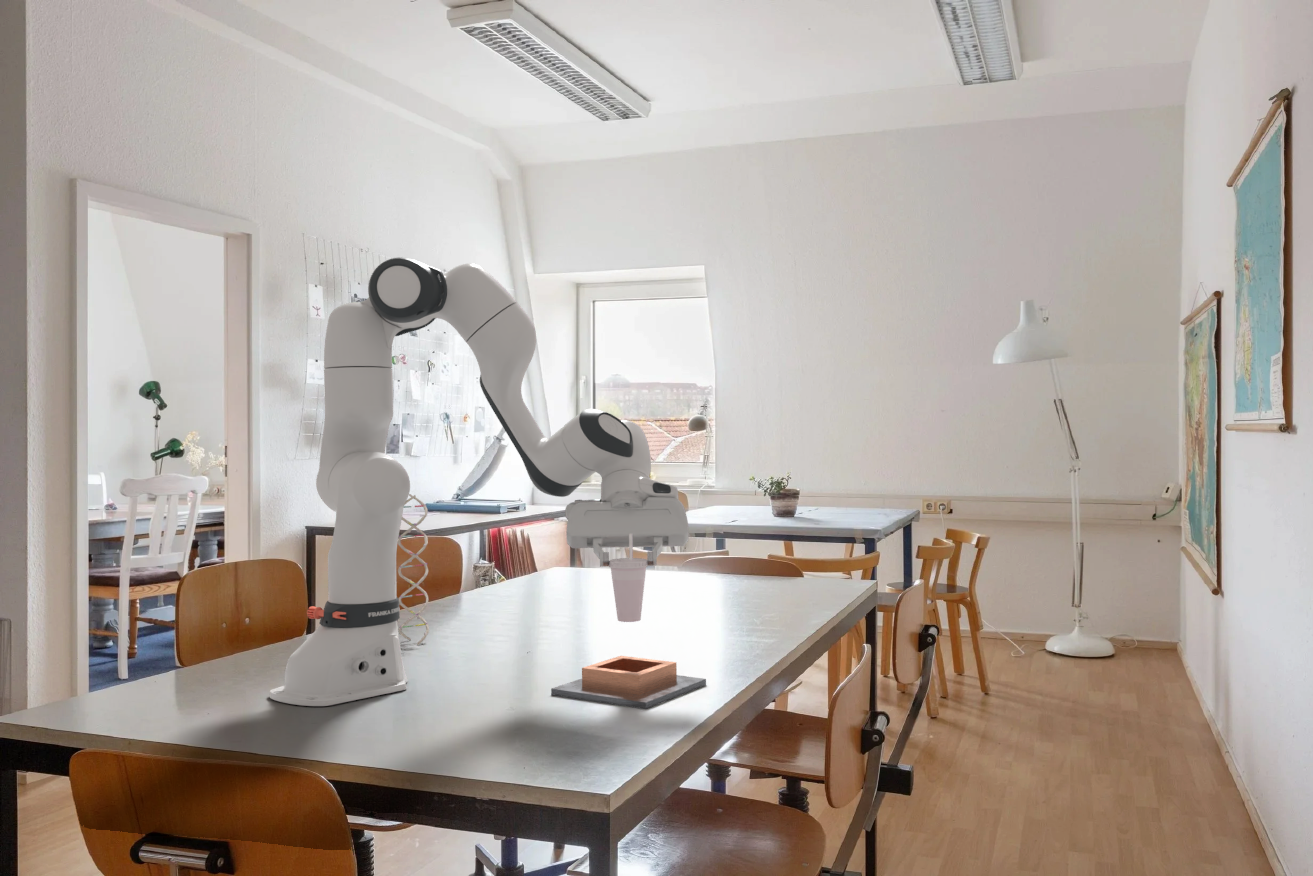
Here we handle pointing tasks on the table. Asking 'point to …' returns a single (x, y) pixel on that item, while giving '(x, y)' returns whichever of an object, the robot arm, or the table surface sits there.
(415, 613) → the dna model
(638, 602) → the smoothie
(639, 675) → the mount
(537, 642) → the table surface
